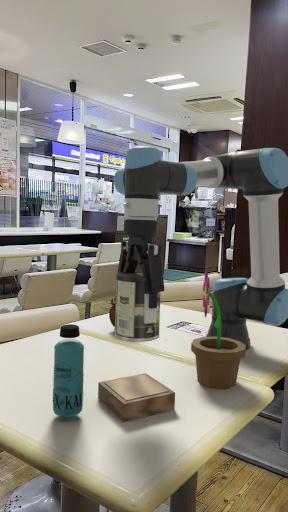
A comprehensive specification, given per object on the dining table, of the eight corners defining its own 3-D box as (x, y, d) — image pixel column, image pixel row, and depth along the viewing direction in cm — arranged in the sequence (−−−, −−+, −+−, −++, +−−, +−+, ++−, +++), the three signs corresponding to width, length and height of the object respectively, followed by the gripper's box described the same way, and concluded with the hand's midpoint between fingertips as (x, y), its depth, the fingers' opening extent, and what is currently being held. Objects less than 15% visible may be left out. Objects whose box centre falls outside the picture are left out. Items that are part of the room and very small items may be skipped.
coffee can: (162, 331, 101) (164, 272, 99) (155, 344, 91) (157, 278, 89) (120, 327, 103) (122, 270, 101) (108, 339, 93) (110, 275, 91)
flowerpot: (187, 370, 120) (192, 265, 118) (238, 372, 120) (244, 267, 117) (192, 391, 106) (197, 272, 103) (249, 394, 106) (256, 274, 103)
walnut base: (145, 388, 107) (145, 372, 107) (174, 409, 96) (175, 391, 96) (98, 398, 100) (98, 381, 100) (123, 422, 89) (124, 403, 89)
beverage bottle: (54, 410, 94) (55, 321, 92) (84, 409, 94) (86, 321, 93) (50, 424, 87) (51, 329, 86) (82, 424, 88) (84, 329, 86)
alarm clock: (138, 332, 158) (139, 292, 157) (131, 335, 154) (132, 294, 153) (115, 327, 164) (115, 289, 163) (107, 330, 160) (108, 290, 159)
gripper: (103, 217, 102) (101, 308, 104) (153, 219, 83) (149, 331, 85) (131, 218, 106) (128, 306, 108) (184, 220, 86) (180, 327, 88)
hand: (137, 317), depth 96 cm, fingers closed on coffee can, 10 cm apart
